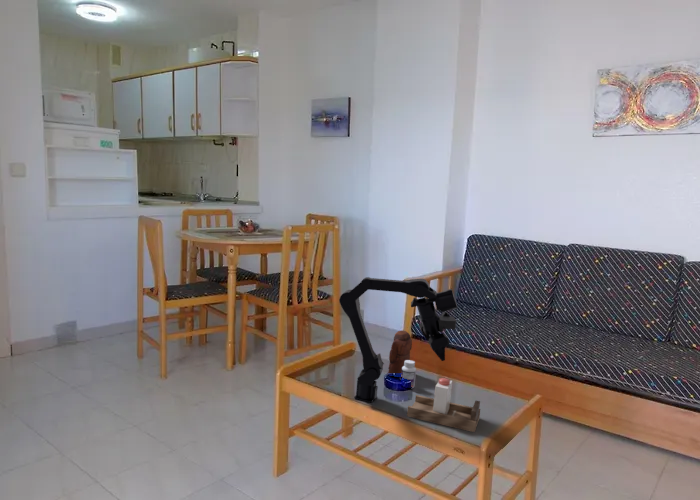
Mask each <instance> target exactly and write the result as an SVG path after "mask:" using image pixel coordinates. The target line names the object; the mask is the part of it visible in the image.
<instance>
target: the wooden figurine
mask: <svg viewBox="0 0 700 500" xmlns="http://www.w3.org/2000/svg"><path fill="white" fill-rule="evenodd" d="M412 345H413V341H412V338H411V334H410V333H409V332H408V331H406V330H398V331H397V332H395V334H394V337H393V341H392V344H391V347H390V351H389V357H388V359H389V365H388V370H387V371H388V372H387V374H388V373H402V367H403V366H405V365H404V361H405V360H410V359H411V355H410V354H411V352H410V351H411V350H412V348H413V347H412Z"/></svg>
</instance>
